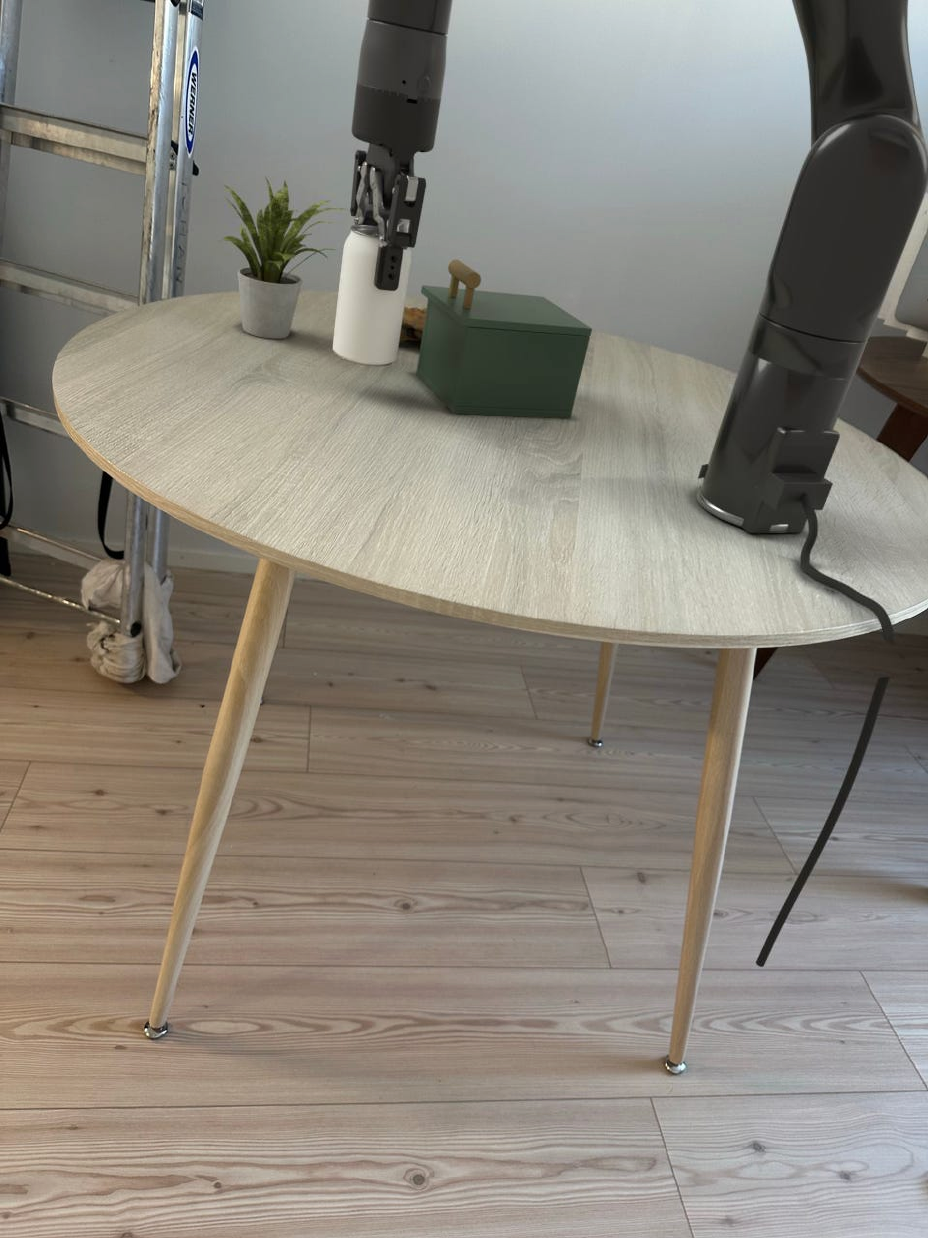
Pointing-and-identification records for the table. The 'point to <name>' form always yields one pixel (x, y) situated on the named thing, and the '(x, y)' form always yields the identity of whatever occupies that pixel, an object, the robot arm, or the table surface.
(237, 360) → the table surface
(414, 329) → the brown tree bark piece
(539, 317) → the bread bin lid
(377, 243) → the can
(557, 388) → the bin
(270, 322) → the house plant
